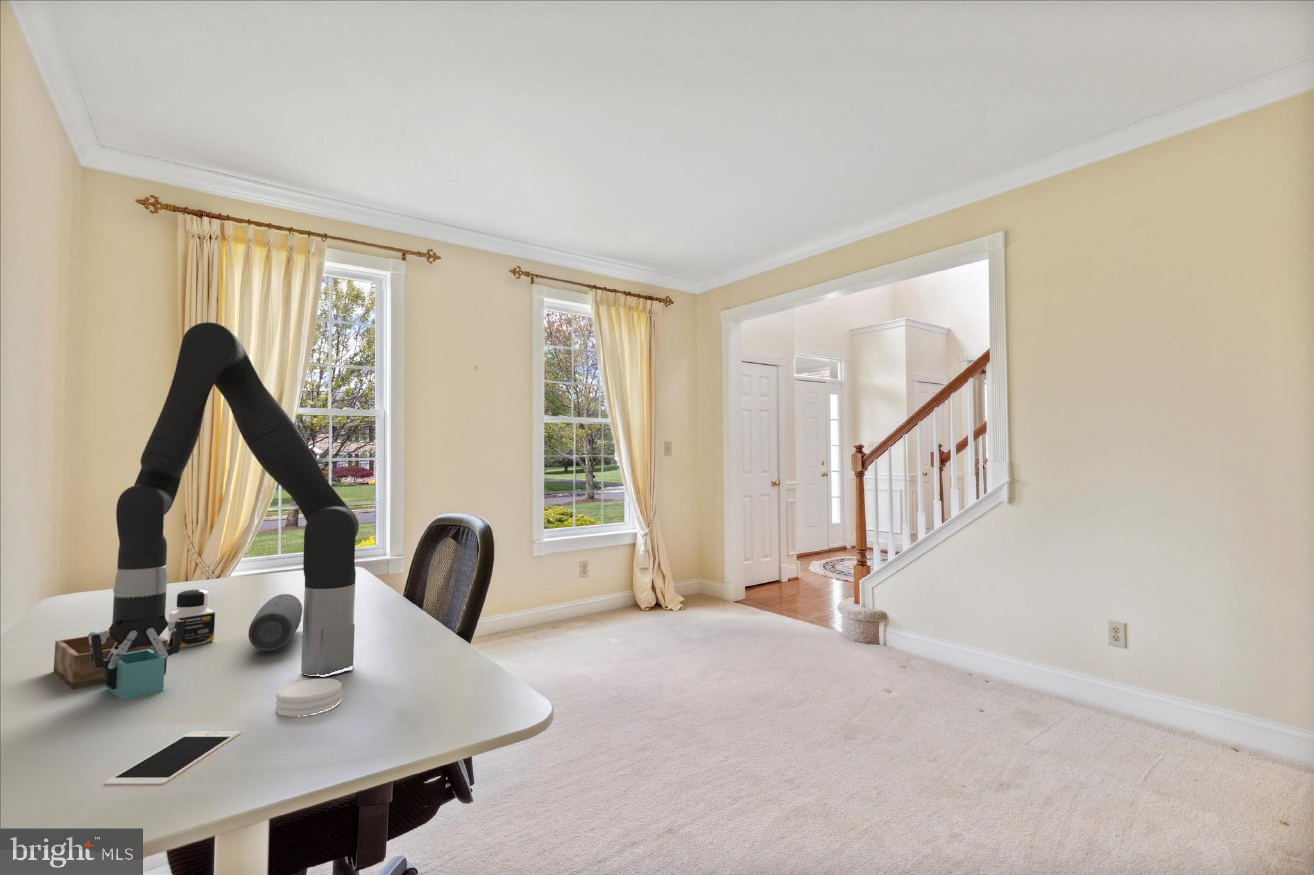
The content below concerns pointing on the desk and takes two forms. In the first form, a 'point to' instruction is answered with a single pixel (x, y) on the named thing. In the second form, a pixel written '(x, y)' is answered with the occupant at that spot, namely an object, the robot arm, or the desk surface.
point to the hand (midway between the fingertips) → (135, 683)
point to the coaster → (308, 697)
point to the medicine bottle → (194, 617)
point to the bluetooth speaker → (275, 622)
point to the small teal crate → (139, 674)
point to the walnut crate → (84, 660)
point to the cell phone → (173, 758)
